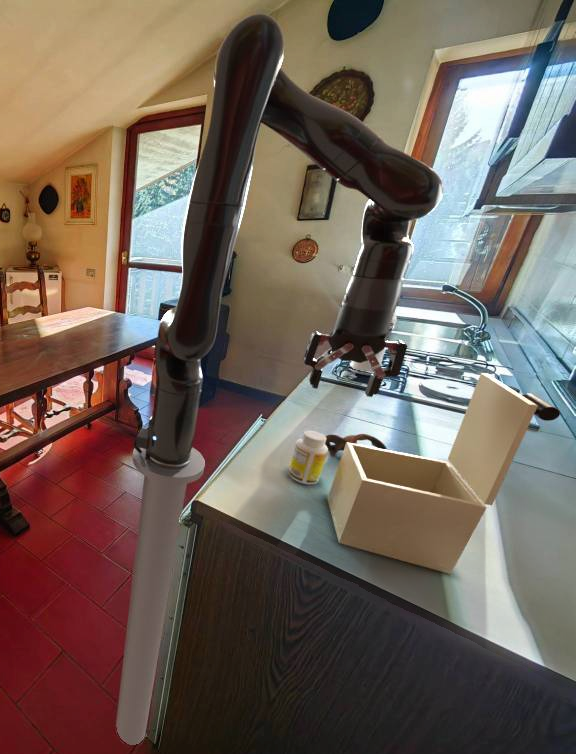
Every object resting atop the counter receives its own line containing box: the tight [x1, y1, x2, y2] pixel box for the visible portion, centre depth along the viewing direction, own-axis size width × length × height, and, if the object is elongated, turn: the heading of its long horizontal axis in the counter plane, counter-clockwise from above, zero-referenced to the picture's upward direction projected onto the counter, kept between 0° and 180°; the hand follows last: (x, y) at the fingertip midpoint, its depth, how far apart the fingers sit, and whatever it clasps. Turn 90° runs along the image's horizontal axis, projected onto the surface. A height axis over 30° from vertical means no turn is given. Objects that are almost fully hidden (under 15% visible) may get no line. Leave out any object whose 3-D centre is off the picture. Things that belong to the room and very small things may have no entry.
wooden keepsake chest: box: [327, 442, 487, 575], centre depth 65 cm, size 15×13×13 cm
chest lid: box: [447, 372, 561, 506], centre depth 56 cm, size 15×13×5 cm
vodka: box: [348, 313, 398, 377], centre depth 136 cm, size 9×9×30 cm
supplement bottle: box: [288, 430, 329, 485], centre depth 80 cm, size 6×6×10 cm
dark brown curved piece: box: [324, 433, 388, 458], centre depth 86 cm, size 12×10×8 cm
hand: (340, 391), depth 72 cm, fingers open, 8 cm apart
